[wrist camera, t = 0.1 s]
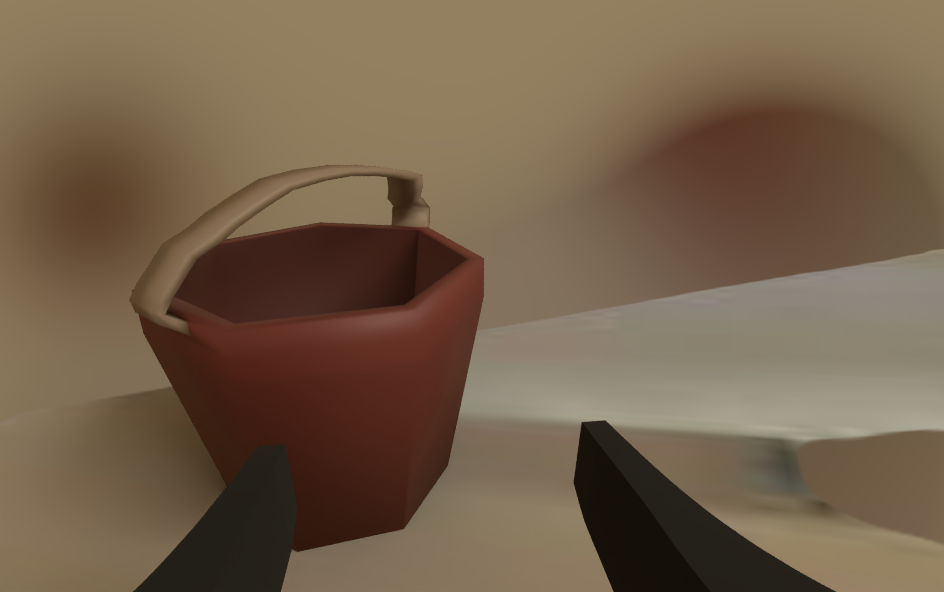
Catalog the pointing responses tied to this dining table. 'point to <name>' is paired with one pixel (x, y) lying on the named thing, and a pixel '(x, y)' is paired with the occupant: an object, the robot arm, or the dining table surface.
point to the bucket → (320, 348)
